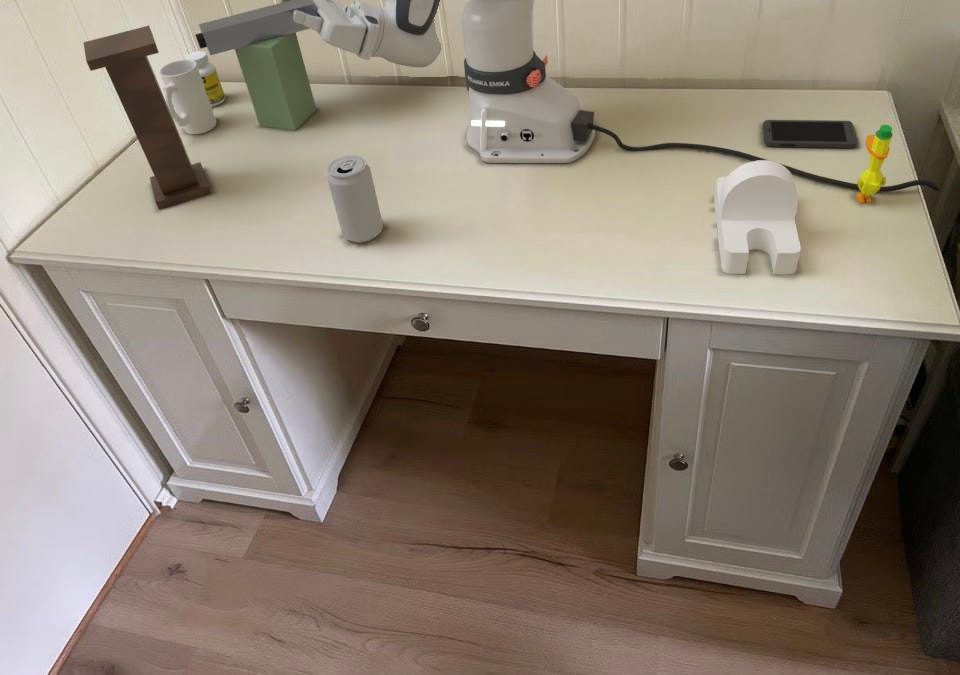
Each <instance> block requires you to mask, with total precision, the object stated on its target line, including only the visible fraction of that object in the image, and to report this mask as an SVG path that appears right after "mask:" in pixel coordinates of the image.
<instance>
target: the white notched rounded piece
mask: <svg viewBox="0 0 960 675" xmlns="http://www.w3.org/2000/svg"><path fill="white" fill-rule="evenodd" d="M768 160H769V159H766V160H757V161H749V162H746V163H743V164H742V165H739V166H738V167H736V168H735V169H733V170H732V171H731V172H730V173H729V174H728V175H727V176H720V177H718V178H717V179H716V183H715V189H714V190H715V191H714V197H713V198H714V199H713V205H714V213H715V223H716V232H717V240H718V249H719V250H718V251H719V258H720V268H721V270H722V272H724V273H726V274H731V275H746V271H747V268H748V260H749V255H750V251H752V250H759V251H763V252H765V253H766V254H768V255H769V259H770V264H771V269H772V275H783V276H784V275H787V276H789V275H793V274H795V273H796V272H797V268H798V263H799V260H800V255H801V254H800V253H801V250H802V247H801V243H800V239H799V238H800V237H799V234H798V229H797V225H796V216H797V212H798V207H799V196H798V190H797V187H796V183H795V178H794V177H793V175H792V173H791V172H790V171H789V170H788V169H787V168H786V167H785V166H783V165H784V164H783V165H781V164H782V163H779V162H777V161H772V160H769V161H768Z"/></svg>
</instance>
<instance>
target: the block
mask: <svg viewBox="0 0 960 675" xmlns="http://www.w3.org/2000/svg"><path fill="white" fill-rule="evenodd" d="M234 52H235V55H236V58H237V60H238V64H239V67H240V70H241V73H242V76H243V79H244V82H245V85H246V88H247V92H248V94H249V97H250V100H251V104H252V106H253V109H254V113H255V116H256V118H257V121H258V124H259V127H262V128H263V127H264V128H271V129H280V130H289V131H296V130H298V129H299V128H300V127H301V126H302V125H303V124H304V123H305V122H306V121H307V120H308V119H309V118H310V117H311V116H312V115H313V114H314V113H315V112H316V111H317V106H316V103H315V102H316V101H315V98H314V95H313V92H312V87H311V84H310V80H309V77H308V73H307V69H306V65H305V62H304V57H303V54H302V50H301V47H300V43H299V39H298V36H297V32H295V33H292V34H288V35H284V36H281V37H277V38H273V39H269V40H266V41H262V42H258V43H255V44H251V45H247V46H243V47H240V48H236V49H234Z"/></svg>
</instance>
